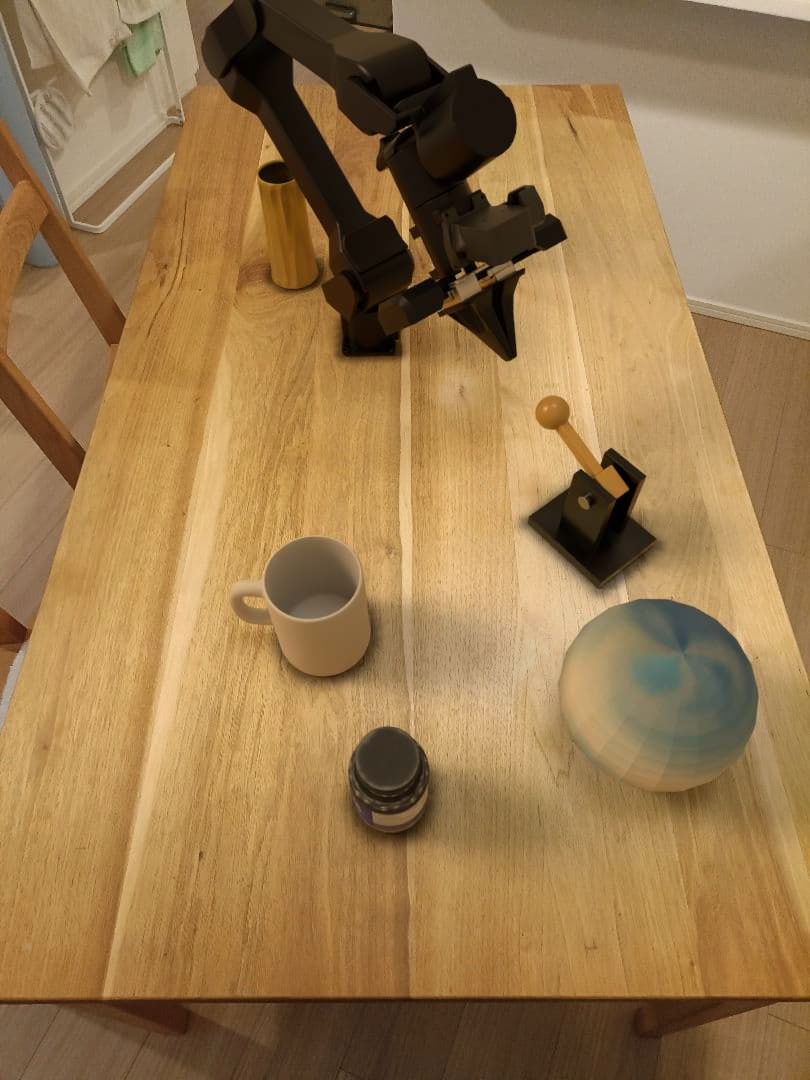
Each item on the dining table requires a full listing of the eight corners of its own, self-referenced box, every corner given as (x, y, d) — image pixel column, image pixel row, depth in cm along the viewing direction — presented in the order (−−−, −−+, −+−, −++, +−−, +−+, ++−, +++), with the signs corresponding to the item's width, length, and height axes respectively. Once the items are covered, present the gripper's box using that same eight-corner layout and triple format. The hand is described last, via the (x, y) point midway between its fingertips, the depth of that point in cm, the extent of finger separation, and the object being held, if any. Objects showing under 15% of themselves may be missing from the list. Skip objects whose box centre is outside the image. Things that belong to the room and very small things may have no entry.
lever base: (526, 522, 79) (539, 463, 70) (581, 483, 81) (600, 421, 73) (598, 589, 74) (620, 533, 66) (653, 545, 77) (682, 486, 69)
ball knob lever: (523, 413, 73) (537, 400, 70) (547, 397, 74) (562, 383, 71) (594, 512, 72) (611, 503, 69) (618, 495, 73) (635, 485, 70)
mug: (373, 596, 74) (367, 534, 65) (367, 679, 70) (360, 624, 60) (250, 593, 75) (227, 530, 65) (236, 675, 70) (209, 620, 61)
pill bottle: (353, 763, 66) (342, 718, 56) (424, 757, 66) (425, 711, 56) (356, 839, 62) (346, 804, 53) (431, 832, 62) (434, 797, 53)
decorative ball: (724, 828, 62) (802, 776, 50) (539, 796, 64) (569, 737, 51) (716, 660, 70) (782, 578, 58) (552, 635, 72) (581, 549, 59)
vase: (311, 292, 98) (296, 190, 86) (265, 287, 99) (244, 184, 87) (323, 262, 102) (311, 159, 90) (279, 257, 102) (261, 154, 90)
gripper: (393, 210, 58) (481, 397, 62) (570, 123, 64) (639, 299, 68) (341, 250, 68) (420, 409, 72) (498, 172, 74) (562, 322, 78)
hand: (511, 359), depth 72 cm, fingers closed
